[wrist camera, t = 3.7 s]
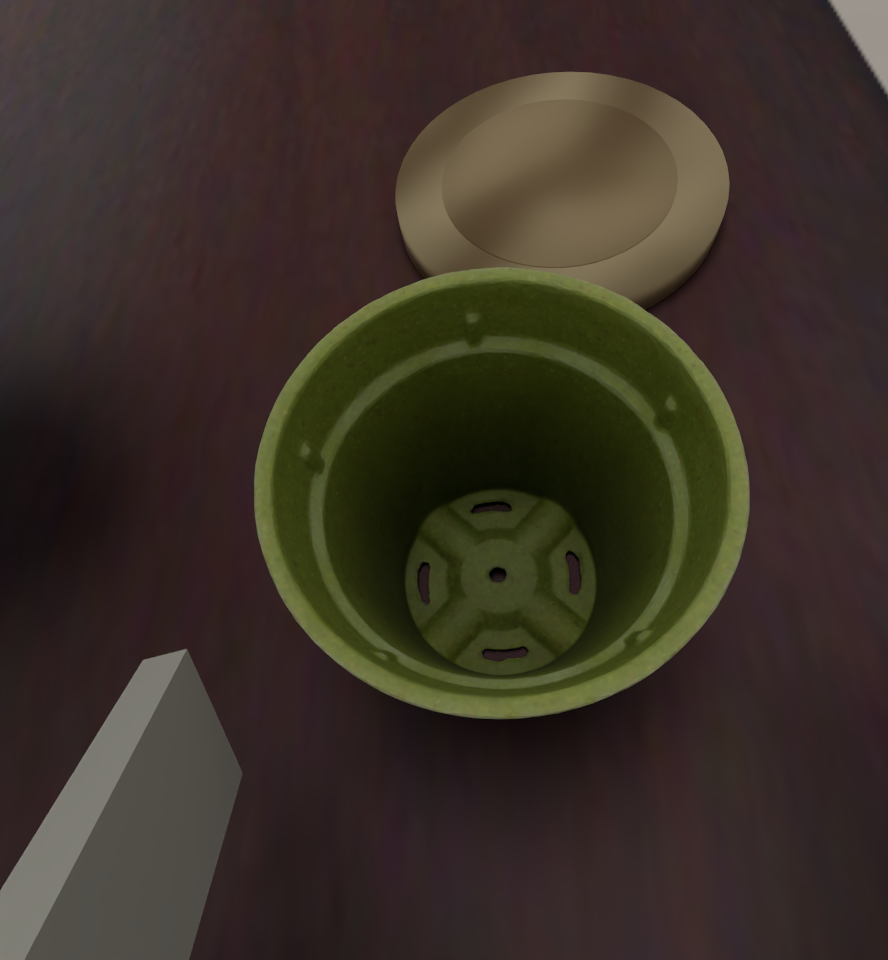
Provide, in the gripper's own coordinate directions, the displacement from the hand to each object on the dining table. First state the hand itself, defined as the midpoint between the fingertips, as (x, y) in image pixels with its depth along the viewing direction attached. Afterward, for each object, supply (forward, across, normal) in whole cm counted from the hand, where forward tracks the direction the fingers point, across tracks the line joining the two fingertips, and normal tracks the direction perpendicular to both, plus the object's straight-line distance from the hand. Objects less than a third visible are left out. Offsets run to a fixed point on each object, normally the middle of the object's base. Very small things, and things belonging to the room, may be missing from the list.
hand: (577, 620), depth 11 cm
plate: (+19, +6, +7) cm, 21 cm away
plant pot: (+8, -1, -4) cm, 9 cm away
